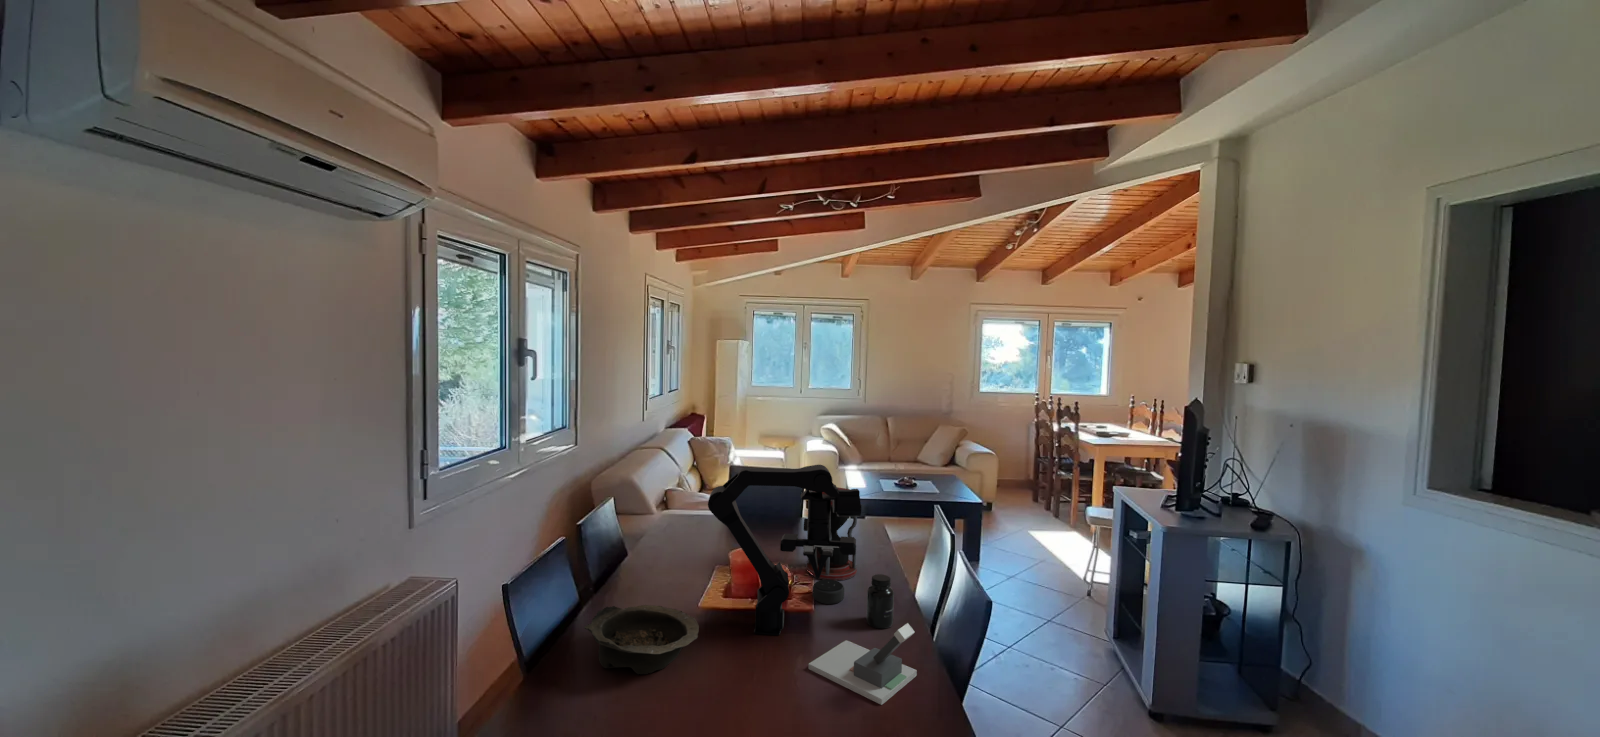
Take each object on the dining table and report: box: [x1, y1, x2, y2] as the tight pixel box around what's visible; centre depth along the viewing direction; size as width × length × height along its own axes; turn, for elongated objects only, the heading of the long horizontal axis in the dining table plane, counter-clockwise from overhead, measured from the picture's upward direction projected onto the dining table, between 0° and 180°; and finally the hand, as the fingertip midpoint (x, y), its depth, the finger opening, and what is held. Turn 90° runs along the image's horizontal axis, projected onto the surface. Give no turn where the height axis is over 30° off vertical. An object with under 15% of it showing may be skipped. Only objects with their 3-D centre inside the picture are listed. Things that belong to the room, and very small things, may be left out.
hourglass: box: [805, 486, 858, 582], centre depth 184 cm, size 16×16×25 cm
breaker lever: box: [873, 622, 915, 664], centre depth 122 cm, size 2×4×10 cm
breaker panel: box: [808, 640, 918, 706], centre depth 127 cm, size 19×14×4 cm
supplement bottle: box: [866, 573, 895, 630], centre depth 150 cm, size 7×7×12 cm
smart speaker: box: [812, 579, 845, 605], centre depth 164 cm, size 9×9×4 cm
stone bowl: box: [583, 604, 700, 675], centre depth 132 cm, size 25×25×9 cm
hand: (817, 577), depth 146 cm, fingers closed
